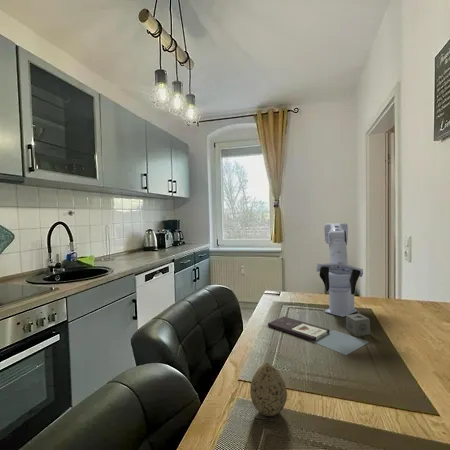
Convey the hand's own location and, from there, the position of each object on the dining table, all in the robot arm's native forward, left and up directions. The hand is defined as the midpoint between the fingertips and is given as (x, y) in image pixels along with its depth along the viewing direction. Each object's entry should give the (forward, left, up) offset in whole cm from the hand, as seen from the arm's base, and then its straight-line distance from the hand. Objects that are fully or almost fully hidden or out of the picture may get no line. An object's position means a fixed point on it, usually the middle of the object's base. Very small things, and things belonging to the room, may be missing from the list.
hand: (340, 291), depth 93 cm
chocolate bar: (+8, -11, -14) cm, 19 cm away
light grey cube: (-4, +3, -14) cm, 15 cm away
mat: (+6, +3, -14) cm, 15 cm away
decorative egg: (+44, +12, -14) cm, 48 cm away
